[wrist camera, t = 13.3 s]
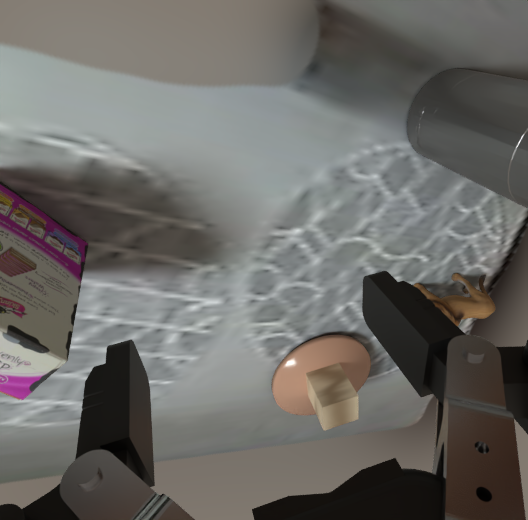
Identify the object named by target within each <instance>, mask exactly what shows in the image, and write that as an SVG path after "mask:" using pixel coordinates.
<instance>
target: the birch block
mask: <svg viewBox="0 0 528 520" xmlns="http://www.w3.org/2000/svg"><path fill="white" fill-rule="evenodd" d="M306 380H307V390H308V397H309V399H310V401H311V403H312V405H313V408H314V410H315V412H316V414H317V416H318V419H319V421H320V423H321V425H322V427H323V429H324V431H325V430H328V429H331V428H334V427H337V426H339V425H342V424H345V423H348V422H351V421H354V420H357V419H358V394H357V393H356V391H355V389H354V388H353V386H352V384H351V382H350V381H349V379H348V377H347V376H346V374H345V372H344V371H343V369H342V367H341V365H340V364H339V363H336V364H333V365H330V366H327V367H323V368H320V369H317V370H314V371H311V372H308V373H306Z"/></svg>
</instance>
